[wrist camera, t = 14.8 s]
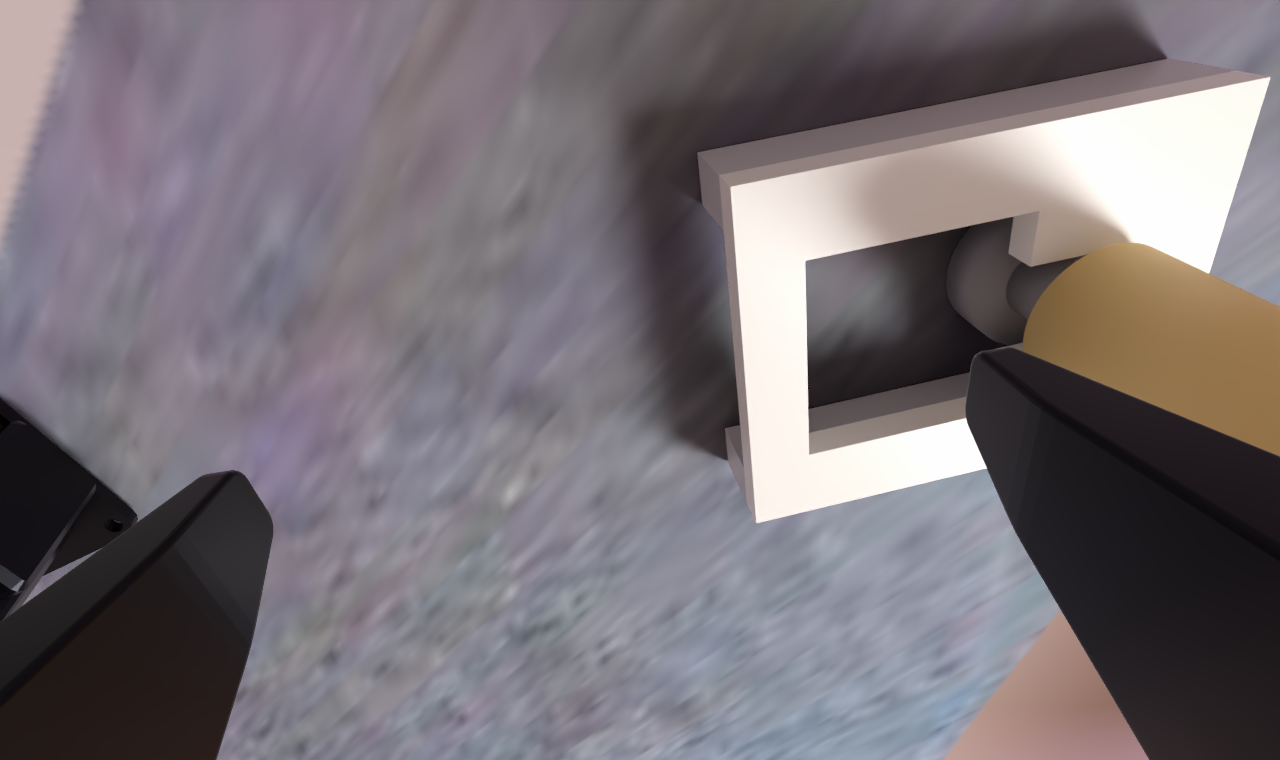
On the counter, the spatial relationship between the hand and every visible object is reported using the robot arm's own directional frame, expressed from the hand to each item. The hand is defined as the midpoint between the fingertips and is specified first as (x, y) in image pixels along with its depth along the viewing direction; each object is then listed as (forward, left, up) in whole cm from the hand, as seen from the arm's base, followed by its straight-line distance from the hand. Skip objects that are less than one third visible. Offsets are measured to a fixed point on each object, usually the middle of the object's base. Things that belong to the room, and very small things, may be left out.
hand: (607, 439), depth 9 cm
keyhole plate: (+9, -9, -12) cm, 18 cm away
